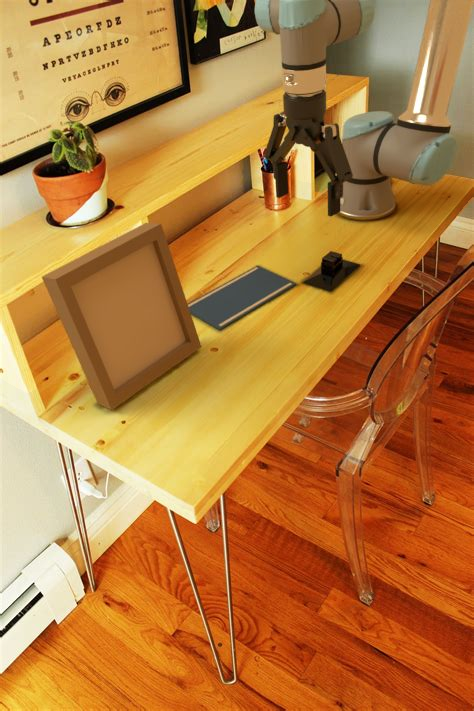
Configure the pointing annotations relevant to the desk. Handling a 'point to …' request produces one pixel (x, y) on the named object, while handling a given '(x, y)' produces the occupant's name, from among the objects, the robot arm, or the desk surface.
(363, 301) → the desk surface
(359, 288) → the desk surface
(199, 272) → the desk surface
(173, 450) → the desk surface
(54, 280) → the photo frame
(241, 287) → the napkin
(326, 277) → the build plate
